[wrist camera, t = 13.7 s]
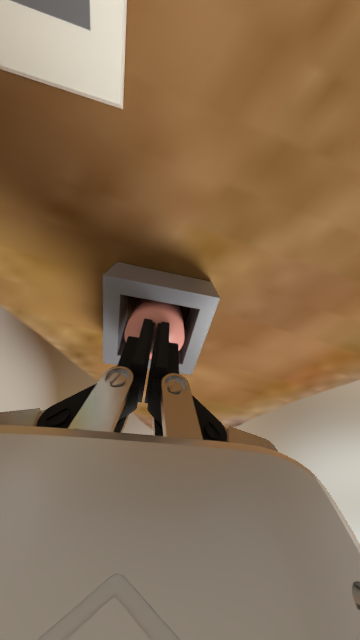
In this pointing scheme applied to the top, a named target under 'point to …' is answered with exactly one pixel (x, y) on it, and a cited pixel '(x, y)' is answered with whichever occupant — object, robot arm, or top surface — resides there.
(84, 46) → the cream and green mat
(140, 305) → the button
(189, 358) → the button base
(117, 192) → the top surface
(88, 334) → the top surface
